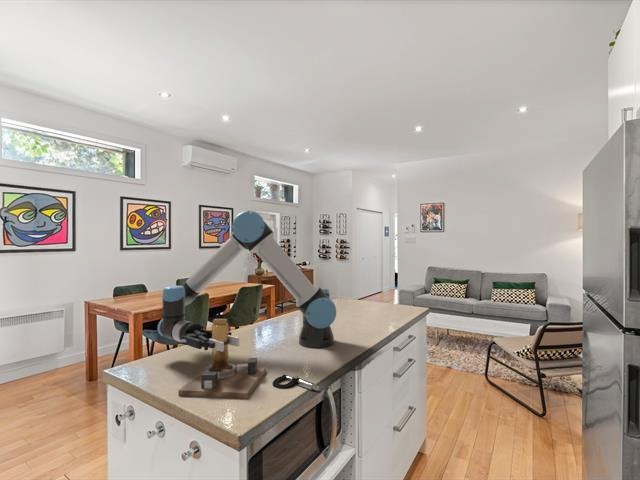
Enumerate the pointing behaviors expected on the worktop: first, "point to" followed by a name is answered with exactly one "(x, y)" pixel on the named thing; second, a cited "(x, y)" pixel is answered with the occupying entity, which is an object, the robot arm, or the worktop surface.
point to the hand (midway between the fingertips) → (230, 344)
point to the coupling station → (225, 381)
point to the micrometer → (294, 381)
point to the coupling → (221, 335)
